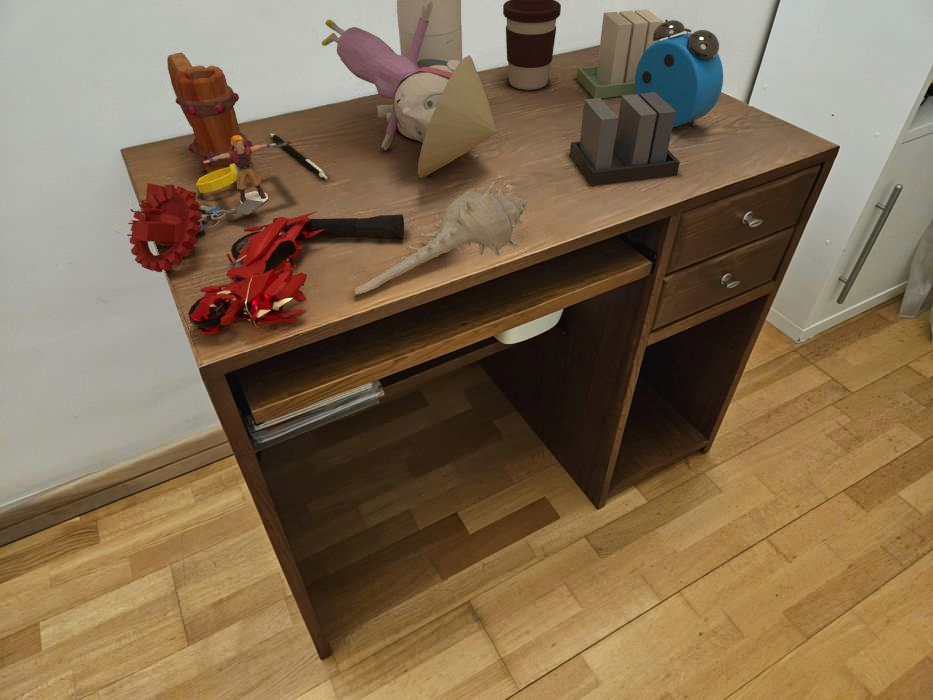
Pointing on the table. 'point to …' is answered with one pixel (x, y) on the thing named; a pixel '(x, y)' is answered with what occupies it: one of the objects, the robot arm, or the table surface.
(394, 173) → the table surface
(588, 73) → the green tray
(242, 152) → the action figure
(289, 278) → the toy motorcycle
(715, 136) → the table surface
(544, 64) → the coffee cup
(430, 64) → the figurine
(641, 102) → the grey books
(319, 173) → the pen
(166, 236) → the red toothed ring
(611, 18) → the white box
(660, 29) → the alarm clock
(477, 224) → the seashell
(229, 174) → the yellow curved hollow piece
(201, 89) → the mug
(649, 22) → the white books
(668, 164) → the grey tray
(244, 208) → the key chain
